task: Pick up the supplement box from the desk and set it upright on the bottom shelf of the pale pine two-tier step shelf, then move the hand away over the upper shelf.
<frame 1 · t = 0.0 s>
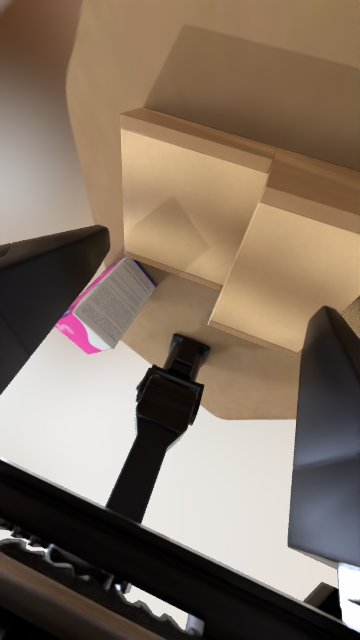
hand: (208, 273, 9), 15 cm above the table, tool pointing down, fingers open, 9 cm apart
shelf: (231, 217, 22), on the table
supplement box: (132, 275, 32), on the table
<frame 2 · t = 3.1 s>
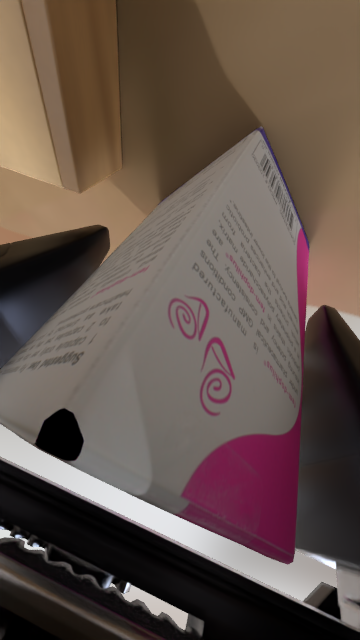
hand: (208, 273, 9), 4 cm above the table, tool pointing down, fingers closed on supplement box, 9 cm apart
supplement box: (231, 224, 12), on the table, touching gripper
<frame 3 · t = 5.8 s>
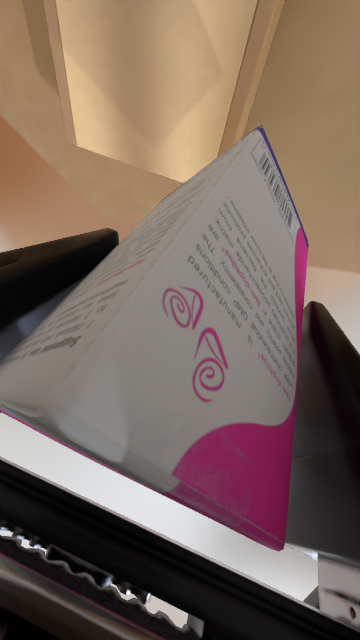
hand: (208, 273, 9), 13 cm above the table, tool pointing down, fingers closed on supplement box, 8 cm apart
supplement box: (231, 222, 12), point 9 cm above the table, touching gripper
when the fingers open (8 cm above the table, at t = 8.5 s): supplement box stays where it is, resting on shelf.
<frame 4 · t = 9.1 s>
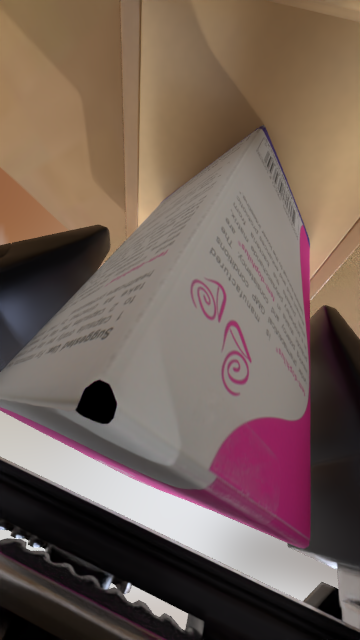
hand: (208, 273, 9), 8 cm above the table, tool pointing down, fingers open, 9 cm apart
shelf: (280, 86, 10), on the table
supplement box: (233, 222, 12), point 3 cm above the table, touching shelf
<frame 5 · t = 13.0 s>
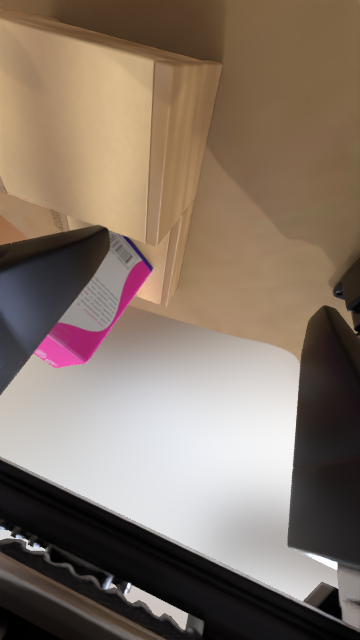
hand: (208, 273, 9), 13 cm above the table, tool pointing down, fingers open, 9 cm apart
shelf: (132, 195, 22), on the table
supplement box: (119, 256, 24), point 3 cm above the table, touching shelf
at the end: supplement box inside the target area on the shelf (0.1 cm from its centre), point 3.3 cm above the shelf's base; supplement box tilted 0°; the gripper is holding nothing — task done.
